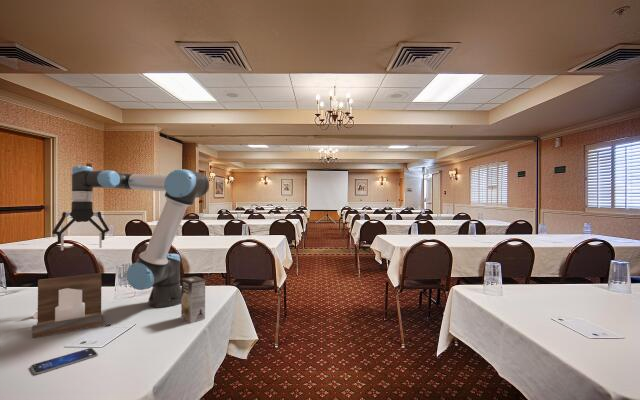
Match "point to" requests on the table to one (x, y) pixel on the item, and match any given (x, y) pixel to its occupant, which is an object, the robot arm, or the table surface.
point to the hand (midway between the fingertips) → (81, 248)
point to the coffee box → (193, 299)
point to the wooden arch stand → (50, 301)
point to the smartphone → (63, 361)
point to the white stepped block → (69, 305)
